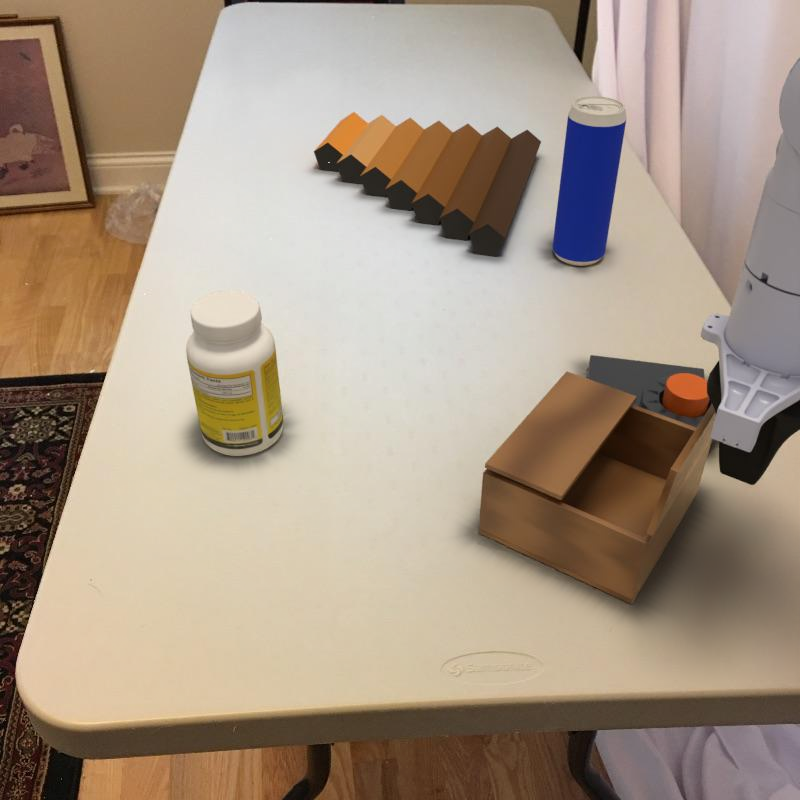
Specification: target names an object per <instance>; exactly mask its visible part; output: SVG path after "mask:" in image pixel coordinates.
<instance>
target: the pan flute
mask: <svg viewBox="0 0 800 800" xmlns="http://www.w3.org/2000/svg"><path fill="white" fill-rule="evenodd" d="M541 143H542V141H541V140H540V139H539V138H538V137H537V136H536V135H534V134H533V133H532V132H531V131H530V130H528V129H525V130H524V131H522V132H520V133H519V134H516V135H515V136H513V137H510V135H508V134H507V133H506V132H505V131H503V130H502V129H501V128H500V127H499V126H496V127H494V128H492V129H491V130H489V131H486V132H485V133H484V134H481V133H480V132H479V131H478V130H477V129H475V128H474V127H473V126H472V125H471V124H469V123H466V124H464V125H462V126H461V127H460V128H458V129H456V130H454V131H452V130H451V128H449V127H448V126H446V125H445V124H444V123H443V122H442V121H441V120H437V121H435V122H434V123H432V124H431V125H429V126H427V127H426V128H424V127H422V126H421V124H419V123H418V122H416V121H415V120H414V119H413V118H412V117H409V118H407V119H406V120H404V121H402V122H400V123H399V124H397V125H395V123H393V122H391V120H389V119H388V118H387V117H386V116H385V115H383V114H381V115H379V116H377V117H376V118H374V119H372V120H371V121H370V122H367V121H366V120H365V119H364V118H362V117H361V116H360V115H359V114H358V113H356V112H355V111H353V112H350V114H348V115H347V116H345V117H344V118H342V119H340V120H339V122H338V123H337V124H336V125H335V126H334V128H332V130H331V131H330V132H329V133H328V135H327V136H326V137H325V138H324V139H323V140H322V141H321V143H320V144H319V145H317V147H316V148H315V149H314V151H313V153H314V154H313V155H314V156H315V159H316V162H317V165H318V168H319V170H322V171H331V172H338V173H339V176H340V179H341V180H342V182H344V183H352V184H359V185H361V184H362V186H363V188H364V193H365V194H366V195H367V196H368V195H369V196H374V197H384V198H386V197H387V199H388V200H387V201H388V202H389V205H390V208H391V209H394V210H395V209H396V210H403V211H412V210H413V212H414V216H415V220H416V222H417V223H418V224H426V225H427V224H428V225H435V226H439V224H441V228H442V232H443V234H444V235H443V236H444V238H445V239H446V238H447V239H452V240H461V241H467V240H468V238H470V241H471V246H472V249H473V252H474V254H475V255H482V256H490V257H497V256H498V254H499V252H500V250H501V248H502V246H503V244H504V241H505V239H506V237H507V234H508V232H509V230H510V227H511V223H512V221H513V218H514V216H515V213H516V210H517V209H518V208H517V207H518V205H519V203H520V200H521V197H522V194H523V191H524V190H525V189H524V188H525V187H526V184H527V182H528V178H529V175H530V174H531V170H532V168H533V165H534V162H535V160H536V157H537V154H538V151H539V150H540V146H541ZM328 162H330V163H328Z"/></svg>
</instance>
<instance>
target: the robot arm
mask: <svg viewBox="0 0 800 800" xmlns="http://www.w3.org/2000/svg"><path fill="white" fill-rule="evenodd" d="M779 97H780V98H779V104H778V107H779V108H778V115H779V121H780V126H781V129H782V132H781V134H780V135H779V138H778V140H777V144H776V146H775V147H776V148H775V160H774V163H773V166H772V167H771V168H770V169H769V171H768V173H767V175H766V177H765V181H764V184H763V189H762V193H761V196H760V200H759V203H758V207H757V210H756V215H755V219H754V222H753V226H752V229H751V233H750V237H749V240H748V244H747V249H746V252H745V256H744V260H743V264H742V267H741V271H740V275H739V279H738V283H737V286H736V290H735V294H734V297H733V301H732V304H731V308H730V312H729V315H726V314H722V313H712V314H710V315H708V317H707V318H706V320H705V322H704V323H703V324H702V327H701V332H700V337H701V338H702V340H703V341H706V342H709V343H712V344H714V345H715V346H717V349H718V361H716V364H715V365H714V366H713V368H712V369H711V371H710V372H709V374H708V377H707V380H706V381H707V394H708V396H709V398H710V400H711V402H712V404H713V407H714V410H715V413H716V417H715V421H714V424H713V428H712V431H711V435H710V438H711V439H714V441H717V442H718V465H719V472H720V474H722V475H724V476H726V477H730V478H732V479H735V480H737V481H739V482H742V483H745V484H748V485H750V486H755V485H756V484H757V483H758V482H759V481H760V479H761V478H762V476H764V475H765V473H766V471H767V469H768V468H769V466H770V464H771V463H772V462H773V460H774V458H775V456H776V455H777V453H778V452H779V450H780V449H781V447H782V446H783V445H784V444H785V442H787V441H788V440H789V438H790V437H792V436H794V434H796V433H797V432H799V431H800V56H799V57H798V58H797V59H796V61H795V62H794V64H793V66H792V67H791V68H790V70H789V72H788V74H787V77H786V78H785V81H784V83H783V86H782V89H781V92H780V96H779Z"/></svg>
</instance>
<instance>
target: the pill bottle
mask: <svg viewBox="0 0 800 800" xmlns="http://www.w3.org/2000/svg"><path fill="white" fill-rule="evenodd" d="M190 321H191V327H192V330H193V331H192V332H191V334H190V336H189V337H188V339H187V342H186V348H185V352H186V359H187V360H186V361H187V365H188V371H189V376H190V381H191V387H192V392H193V397H194V403H195V407H196V408H195V409H196V413H197V418H198V423H199V430H200V433H201V436H202V439H203V441H204V442H205V444H206V445H207V446H208V447H209V448H210V449H212V450H213V451H215V452H218V453H219V454H222V455H226V456H231V457H234V456H235V457H242V456H249V455H253V454H257V453H260V452H262V451H264V450H266V449H268V448H270V447H271V446H272V445H274V444H275V443H276V442H277V441H278V439H280V437H281V435H282V433H283V429H284V413H283V405H282V395H281V386H280V377H279V368H278V358H277V350H276V342H275V338H274V335H273V333H272V332H271V329H269V328H268V327H267V326H266V325H265V324H264V323H263V322H262V321H263V316H262V311H261V304H260V302H259V300H258V299H257V298H256V297H255V296H254V295H252V294H250V293H248V292H246V291H241V290H235V289H234V290H233V289H232V290H230V289H228V290H219V291H215V292H211V293H208V294H206V295H204V296H202V297H200V298H199V299H197V300H196V301H195V302H194V303H193V304H192V306H191V308H190Z"/></svg>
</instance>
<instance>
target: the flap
mask: <svg viewBox="0 0 800 800" xmlns="http://www.w3.org/2000/svg"><path fill="white" fill-rule="evenodd" d="M715 417H716V413H715V410H714V407H713V404H712V405H711V406H710V408H709V409H708V411H707V413H706V414H705V416H704V417H703V419H702V420H701V422H700V424H699V425H698V427H697V428H696V430H695V431H694V433H693V435H692V436H691V438H690V439H689V441H688V442H687V444H686V446H685V447H684V449H683V450H682V452H681V453H680V455H679V457H678V458H677V460H676V461H675V463H674V464H673V466H672V467H671V469H670V472H669V475H668V477H667V480H666V482H665V485H664V488H663V490H662V493H661V496H660V498H659V501H658V503H657V506H656V509H655V511H654V514H653V517H652V519H651V522H650V524H649V527H648V530H647V534H649V535H651V536H653V535H654V533H655V532H656V530H657V528H658V527H659V525H660V523H661V522H662V520H663V518H664V517H665V515H666V513H667V512H668V510H669V509H670V507H671V505H672V504H673V502H674V500H675V499H676V497H677V495H678V494H679V492H680V490H681V489H682V487H683V485H684V484H685V482H686V481H687V479H688V477H689V476H690V474H691V472H692V471H693V469H694V467H695V466H696V464H697V462H698V461H699V459H700V458H701V456H702V454H703V453H704V451H705V449H706V448H707V446H708V444H709V443H710V441H711V438H710V435H711V431H712V428H713V424H714V421H715Z"/></svg>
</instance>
